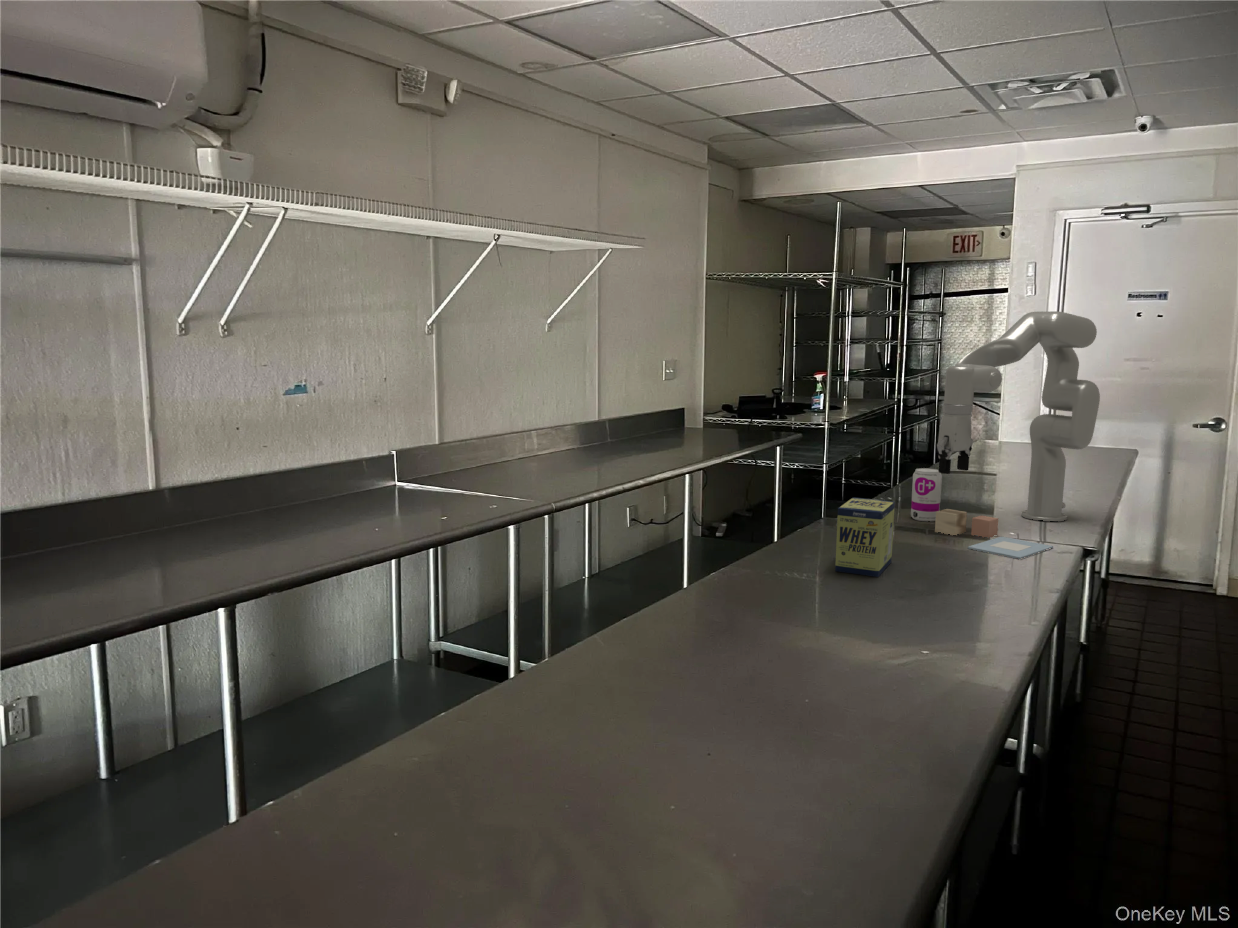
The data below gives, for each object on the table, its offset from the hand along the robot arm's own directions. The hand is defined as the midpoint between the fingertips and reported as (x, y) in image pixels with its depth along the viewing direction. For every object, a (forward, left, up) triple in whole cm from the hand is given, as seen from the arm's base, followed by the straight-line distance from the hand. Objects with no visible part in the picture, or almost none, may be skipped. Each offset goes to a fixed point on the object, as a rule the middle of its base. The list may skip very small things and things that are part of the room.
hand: (953, 471), depth 248 cm
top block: (-4, +8, -18) cm, 20 cm away
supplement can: (-10, -14, -18) cm, 25 cm away
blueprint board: (+5, +20, -17) cm, 27 cm away
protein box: (+50, +6, -18) cm, 53 cm away
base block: (0, 0, -18) cm, 18 cm away
